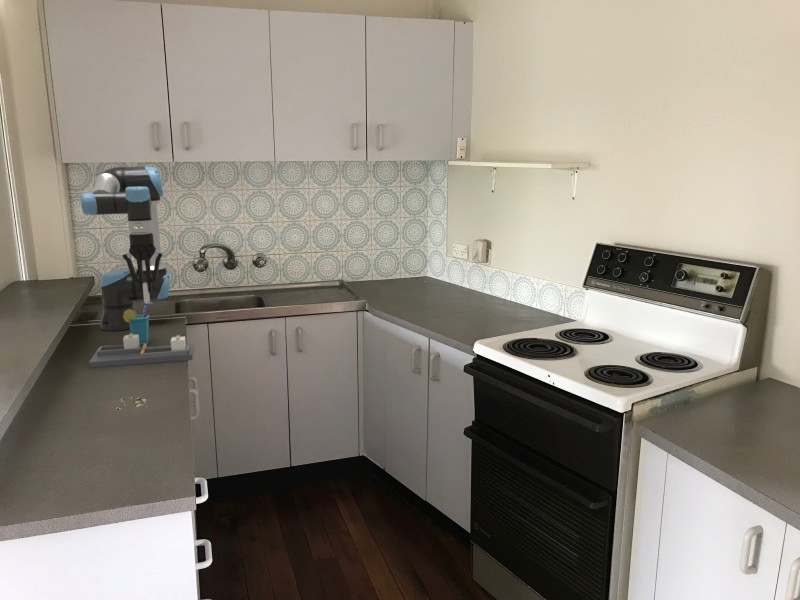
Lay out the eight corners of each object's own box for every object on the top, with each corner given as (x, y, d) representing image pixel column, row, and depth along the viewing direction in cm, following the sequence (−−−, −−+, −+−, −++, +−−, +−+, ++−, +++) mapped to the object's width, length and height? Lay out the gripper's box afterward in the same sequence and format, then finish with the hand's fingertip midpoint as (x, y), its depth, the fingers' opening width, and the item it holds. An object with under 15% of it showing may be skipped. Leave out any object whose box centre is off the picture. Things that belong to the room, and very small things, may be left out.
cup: (147, 337, 261) (144, 299, 258) (163, 339, 258) (160, 301, 255) (120, 347, 248) (116, 307, 245) (136, 349, 245) (133, 309, 242)
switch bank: (97, 355, 238) (96, 346, 237) (194, 348, 245) (193, 339, 244) (89, 367, 224) (88, 357, 224) (192, 360, 232) (191, 350, 231)
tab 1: (126, 349, 238) (124, 333, 237) (139, 348, 239) (138, 332, 238) (124, 352, 234) (122, 336, 233) (138, 351, 235) (136, 335, 234)
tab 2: (172, 351, 235) (171, 335, 234) (186, 350, 236) (185, 334, 235) (171, 354, 231) (170, 338, 230) (185, 353, 232) (184, 337, 231)
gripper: (118, 234, 221) (124, 304, 226) (159, 233, 224) (165, 302, 229) (122, 232, 228) (129, 300, 233) (162, 231, 231) (168, 298, 236)
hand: (147, 301), depth 231 cm, fingers closed
